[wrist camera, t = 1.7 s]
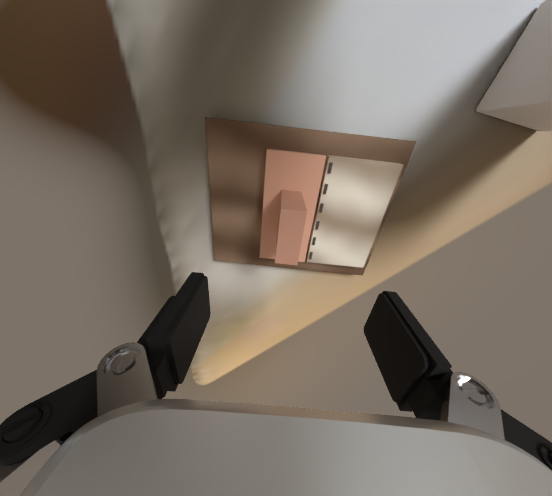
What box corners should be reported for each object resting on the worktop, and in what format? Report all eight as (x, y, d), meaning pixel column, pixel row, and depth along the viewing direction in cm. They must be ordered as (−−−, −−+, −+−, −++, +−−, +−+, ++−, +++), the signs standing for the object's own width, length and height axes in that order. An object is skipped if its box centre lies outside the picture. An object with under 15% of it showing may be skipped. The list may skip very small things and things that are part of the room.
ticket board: (210, 118, 20) (199, 116, 17) (407, 141, 20) (424, 141, 18) (218, 254, 28) (211, 266, 25) (359, 268, 28) (366, 281, 26)
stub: (267, 148, 19) (260, 154, 13) (324, 154, 19) (343, 164, 13) (260, 252, 25) (252, 291, 19) (303, 256, 25) (310, 296, 19)
